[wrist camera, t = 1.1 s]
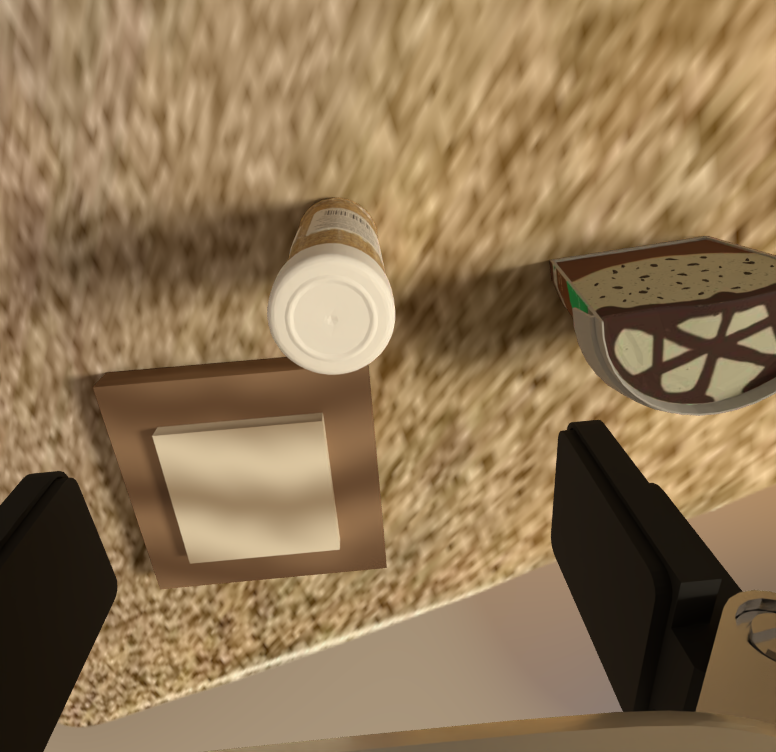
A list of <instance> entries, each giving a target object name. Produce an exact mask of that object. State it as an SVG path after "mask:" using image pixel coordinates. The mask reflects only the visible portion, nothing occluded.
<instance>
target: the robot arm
mask: <svg viewBox="0 0 776 752" xmlns="http://www.w3.org/2000/svg"><path fill="white" fill-rule="evenodd" d="M551 543H552V548H553V552H554V555H555V557H556V560H557V562H558V564H559V566H560V569H561V571H562V573H563V576H564V578H565V580H566V583H567V585H568V587H569V589H570V591H571V594H572V596H573V599H574V601H575V603H576V605H577V608H578V610H579V612H580V615H581V617H582V619H583V621H584V624H585V626H586V628H587V630H588V633H589V635H590V637H591V640H592V642H593V644H594V646H595V649H596V651H597V653H598V656H599V658H600V660H601V663H602V664H603V667H604V669H605V672H606V674H607V676H608V679H609V681H610V683H611V685H612V688H613V690H614V692H615V695H616V697H617V699H618V701H619V704H620V706H621V708H622V710H623V712H612V713H601V714H587V715H575V716H562V717H550V718H538V719H525V720H513V721H503V722H492V723H482V724H472V725H462V726H452V727H441V728H431V729H421V730H411V731H401V732H391V733H380V734H370V735H360V736H350V737H340V738H331V739H321V740H311V741H302V742H292V743H282V744H272V745H263V746H253V747H244V748H234V749H224V750H215V751H205V752H776V593H775V592H771V591H760V590H751V591H745V592H742V590H741V589H740V588H739V587H738V585H737V584H736V583H735V581H734V580H733V579H732V578H731V576H730V575H729V574H728V572H727V571H726V570H725V569H724V567H723V566H722V565H721V564H720V562H719V561H718V560H717V558H716V557H715V556H714V555H713V553H712V552H711V551H710V549H709V548H708V547H707V546H706V544H705V543H704V542H703V540H702V539H701V538H700V537H699V535H698V534H697V533H696V532H695V530H694V529H693V528H692V527H691V525H690V524H689V523H688V521H687V520H686V519H685V517H684V516H683V515H682V514H681V512H680V511H679V510H678V508H677V507H676V506H675V505H674V503H673V502H672V501H671V500H670V498H669V497H668V496H667V494H666V493H665V492H664V491H663V490H662V489H661V488H660V487H659V486H658V485H657V484H654V483H649V482H648V481H647V480H646V478H645V477H644V476H643V474H642V473H641V472H640V470H639V469H638V468H637V466H636V465H635V464H634V463H633V461H632V460H631V459H630V457H629V456H628V455H627V453H626V452H625V451H624V449H623V448H622V447H621V445H620V444H619V443H618V441H617V440H616V439H615V438H614V436H613V435H612V434H611V432H610V431H609V430H608V428H607V427H606V426H605V424H604V423H603V422H602V421H601V420H591V421H581V422H571V423H570V424H569V425H568V427H567V430H565V431H560V433H559V436H558V447H557V461H556V474H555V488H554V501H553V515H552V528H551ZM116 594H117V579H116V576H115V574H114V571H113V569H112V566H111V564H110V561H109V559H108V557H107V554H106V552H105V549H104V547H103V544H102V542H101V539H100V537H99V534H98V532H97V529H96V527H95V525H94V522H93V520H92V517H91V515H90V512H89V510H88V507H87V505H86V502H85V500H84V497H83V495H82V493H81V490H80V488H79V485H78V483H77V481H76V480H75V479H74V478H68V476H67V475H66V474H65V473H64V472H61V471H55V472H45V473H34V474H29V475H27V476H25V477H24V478H23V479H22V480H21V482H20V483H19V484H18V485H17V486H16V487H15V489H14V490H13V491H12V492H11V493H10V495H9V496H8V497H7V498H6V499H5V500H4V502H3V503H2V504H1V505H0V752H43V751H44V749H45V747H46V745H47V743H48V741H49V738H50V736H51V734H52V732H53V730H54V728H55V726H56V724H57V722H58V719H59V717H60V715H61V713H62V711H63V709H64V707H65V704H66V702H67V700H68V698H69V696H70V694H71V692H72V690H73V687H74V685H75V683H76V681H77V679H78V677H79V675H80V672H81V670H82V668H83V666H84V664H85V662H86V660H87V658H88V655H89V653H90V651H91V649H92V647H93V645H94V643H95V640H96V638H97V636H98V634H99V632H100V630H101V628H102V625H103V623H104V621H105V619H106V617H107V615H108V613H109V611H110V608H111V606H112V604H113V602H114V600H115V597H116Z"/></svg>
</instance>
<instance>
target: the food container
mask: <svg viewBox="0 0 776 752" xmlns="http://www.w3.org/2000/svg"><path fill="white" fill-rule="evenodd" d="M550 270H551V279H552V281H553V284H554V286H555V288H556V291H557V293H558V295H559V298H560V300H561V301H562V303H563V304H564V306H565V307H566V308H567V310H568V311H569V313H570V314H571V316H572V317H573V322H574V329H575V333H576V336H577V340H578V344H579V346H580V348H581V351H582V353H583V355H584V357H585V359H586V361H587V362H588V364H589V365H590V366H591V368H592V369H593V370H594V372H595V373H596V374H597V375H598V376H599V377H600V378H601V379H602V380H603V381H604V382H605V383H606V384H607V385H608V386H610V387H612V388H613V389H615V390H616V391H618V392H620V393H621V394H623V395H625V396H627V397H628V398H630V399H632V400H634V401H636V402H638V403H640V404H643V405H645V406H648V407H650V408H652V409H656V410H660V411H665V412H669V413H676V414H681V415H698V416H700V415H711V414H720V413H724V412H729V411H734V410H737V409H740V408H743V407H746V406H749V405H752V404H755V403H757V402H759V401H761V400H763V399H765V398H767V397H769V396H771V395H773V394H775V393H776V255H772V254H769V253H765V252H762V251H758V250H755V249H751V248H748V247H745V246H741V245H738V244H734V243H731V242H727V241H724V240H720V239H717V238H713V237H710V236H703V237H697V238H690V239H684V240H677V241H671V242H664V243H658V244H651V245H645V246H638V247H632V248H625V249H618V250H612V251H605V252H599V253H592V254H586V255H579V256H573V257H566V258H560V259H553V260H550Z"/></svg>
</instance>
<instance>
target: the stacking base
mask: <svg viewBox="0 0 776 752" xmlns="http://www.w3.org/2000/svg"><path fill="white" fill-rule="evenodd" d="M93 390H94V393H95V396H96V399H97V402H98V405H99V408H100V411H101V414H102V417H103V420H104V423H105V426H106V429H107V432H108V435H109V438H110V441H111V444H112V447H113V450H114V453H115V456H116V459H117V462H118V465H119V468H120V471H121V474H122V477H123V480H124V483H125V485H126V488H127V491H128V494H129V497H130V500H131V503H132V506H133V509H134V512H135V515H136V518H137V521H138V524H139V527H140V530H141V533H142V536H143V539H144V542H145V545H146V548H147V551H148V554H149V557H150V560H151V563H152V566H153V569H154V572H155V575H156V578H157V581H158V584H159V587H160V589H168V588H178V587H189V586H199V585H210V584H221V583H231V582H242V581H252V580H263V579H273V578H284V577H294V576H305V575H316V574H326V573H337V572H347V571H358V570H368V569H379V568H387V566H386V553H385V541H384V530H383V519H382V508H381V497H380V486H379V475H378V465H377V454H376V443H375V432H374V421H373V410H372V399H371V388H370V377H369V366H368V365H366V366H364V367H363V368H361V369H359V370H356V371H353V372H350V373H345V374H336V375H327V374H320V373H316V372H312V371H309V370H307V369H304V368H302V367H300V366H299V365H297V364H296V363H294V362H293V361H291V360H290V359H289V358H288V357H284V358H272V359H261V360H249V361H237V362H226V363H214V364H202V365H191V366H179V367H167V368H155V369H144V370H132V371H120V372H109V373H105V375H104V376H103V377H102V378H101V379H100V380H99V381H98V382H97V383H96V384H95V385H94V387H93Z"/></svg>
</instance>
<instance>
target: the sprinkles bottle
mask: <svg viewBox="0 0 776 752" xmlns="http://www.w3.org/2000/svg"><path fill="white" fill-rule="evenodd" d="M267 317H268V324H269V328H270V332H271V334H272V337H273V339H274V341H275V343H276V344H277V346H278V347H279V348H280V350H281V351H282V352H283V353H284V354H285V355H286V357H288V358H289V359H290V360H291V361H293V362H294V363H296V364H297V365H299V366H300V367H302V368H304V369H307V370H309V371H312V372H316V373H320V374H327V375H336V374H345V373H350V372H353V371H356V370H359V369H361V368H363V367H364V366H366V365H368V364H370V363H371V362H372V361H374V360H375V358H377V357H378V356H379V355H380V354H381V353H382V351H383V350H384V349H385V347H386V346H387V344H388V342H389V340H390V338H391V335H392V333H393V329H394V324H395V305H394V298H393V293H392V289H391V286H390V283H389V280H388V278H387V276H386V274H385V269H384V264H383V260H382V255H381V250H380V246H379V242H378V236H377V228H376V225H375V223H374V220H373V219H372V217H371V216H370V214H369V213H368V212H367V211H366V210H365V209H364V208H362V207H361V206H360V205H359V204H357V203H355V202H353V201H351V200H349V199H343V198H330V199H326V200H321V201H320V202H318V203H316V204H314V205H313V206H312V207H310V208H309V209H308V210H307V211H306V213H305V214H304V216H303V217H302V219H301V221H300V225H299V228H298V231H297V233H296V236H295V238H294V241H293V243H292V246H291V249H290V253H289V258H288V261H287V262H286V263H285V264H284V266H283V267H282V268H281V270H280V271H279V273H278V275H277V277H276V279H275V281H274V284H273V287H272V290H271V293H270V297H269V302H268V307H267Z"/></svg>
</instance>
